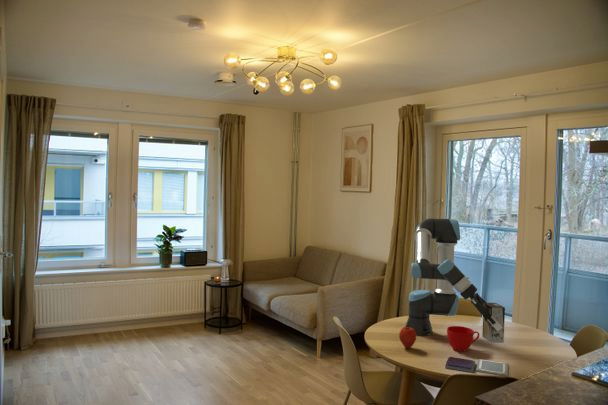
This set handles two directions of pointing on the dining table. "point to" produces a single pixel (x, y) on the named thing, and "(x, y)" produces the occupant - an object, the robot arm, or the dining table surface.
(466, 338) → the ceramic cup
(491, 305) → the coffee box
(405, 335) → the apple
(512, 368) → the dining table surface
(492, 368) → the marked board
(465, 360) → the ink pad
